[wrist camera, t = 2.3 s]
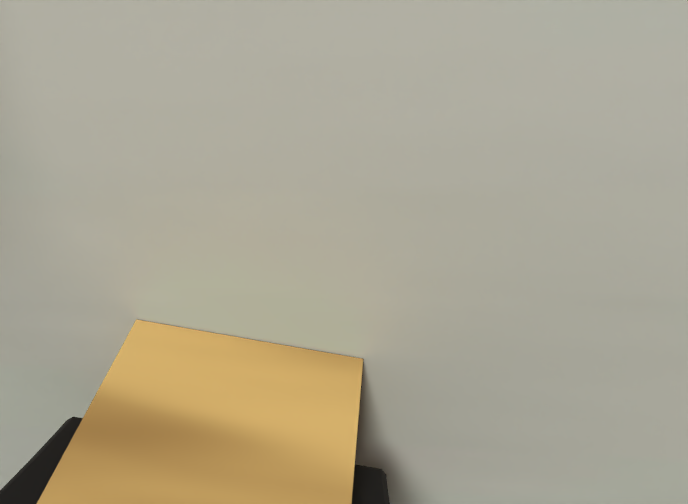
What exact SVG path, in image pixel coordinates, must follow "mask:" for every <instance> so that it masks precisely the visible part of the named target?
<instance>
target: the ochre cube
mask: <svg viewBox="0 0 688 504" xmlns="http://www.w3.org/2000/svg"><path fill="white" fill-rule="evenodd" d="M362 368H363V359H361V358H355V357H349V356H343V355H337V354H332V353H326V352H320V351H314V350H309V349H303V348H297V347H291V346H286V345H280V344H274V343H268V342H263V341H257V340H251V339H245V338H240V337H234V336H228V335H222V334H216V333H211V332H205V331H199V330H193V329H188V328H182V327H176V326H170V325H165V324H159V323H153V322H147V321H142V320H136V321H135V323H134V325H133V327H132V329H131V331H130V332H129V334H128V336H127V338H126V340H125V342H124V343H123V345H122V347H121V349H120V351H119V353H118V355H117V356H116V358H115V360H114V362H113V364H112V366H111V367H110V369H109V371H108V373H107V375H106V377H105V379H104V380H103V382H102V384H101V386H100V388H99V390H98V391H97V393H96V395H95V397H94V399H93V401H92V403H91V404H90V406H89V408H88V410H87V412H86V414H85V415H84V417H83V419H82V421H81V423H80V425H79V427H78V428H77V430H76V432H75V434H74V436H73V438H72V439H71V441H70V443H69V445H68V447H67V449H66V451H65V452H64V454H63V456H62V458H61V460H60V462H59V463H58V465H57V467H56V469H55V471H54V473H53V475H52V476H51V478H50V480H49V482H48V484H47V486H46V487H45V489H44V491H43V493H42V495H41V497H40V499H39V500H38V502H37V504H351V503H352V491H353V479H354V466H355V454H356V442H357V429H358V417H359V405H360V392H361V380H362Z"/></svg>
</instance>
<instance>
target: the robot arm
mask: <svg viewBox="0 0 688 504" xmlns="http://www.w3.org/2000/svg"><path fill="white" fill-rule="evenodd" d="M82 419H83V418H77V417H72V418H70V419H68V420H67V421H66V422H65V423H64V424H63V425H62V426H61V427H60V428H59V430H58V431H57V432H56V433H55V434H54V435H53V436H52V437H51V438H50V439H49V440H48V442H47V443H46V444H45V445H44V446H43V447H42V448H41V449H40V450H39V451H38V452H37V453H36V454H35V455H34V456H33V458H32V459H31V460H30V461H29V462H28V463H27V464H26V465H25V466H24V467H23V468H22V469H21V470H20V471H19V472H18V473H17V474H16V475H15V476H14V477H13V478H12V479H11V480H10V481H9V482H8V483H7V484H6V485H5V486H4V487H3V488H2V489H1V490H0V504H37V502H38V500H39V499H40V497H41V495H42V493H43V491H44V489H45V487H46V486H47V484H48V482H49V480H50V478H51V476H52V475H53V473H54V471H55V469H56V467H57V465H58V463H59V462H60V460H61V458H62V456H63V454H64V452H65V451H66V449H67V447H68V445H69V443H70V441H71V439H72V438H73V436H74V434H75V432H76V430H77V428H78V427H79V425H80V423H81V421H82ZM351 504H390V503H389V496H388V489H387V480H386V474H385V473H384V472H383V471H382V470H381V469H377V468H372V467H366V466H360V465H355V466H354V479H353V491H352V503H351Z"/></svg>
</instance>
